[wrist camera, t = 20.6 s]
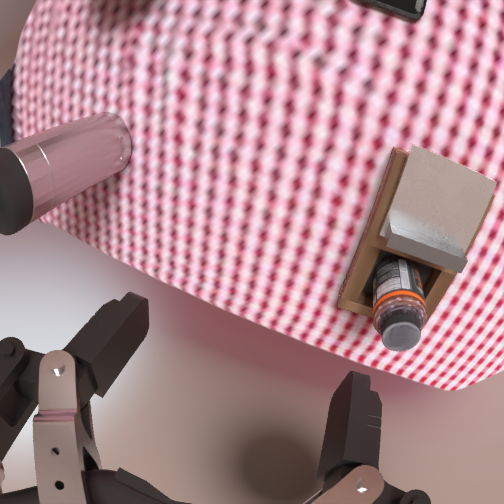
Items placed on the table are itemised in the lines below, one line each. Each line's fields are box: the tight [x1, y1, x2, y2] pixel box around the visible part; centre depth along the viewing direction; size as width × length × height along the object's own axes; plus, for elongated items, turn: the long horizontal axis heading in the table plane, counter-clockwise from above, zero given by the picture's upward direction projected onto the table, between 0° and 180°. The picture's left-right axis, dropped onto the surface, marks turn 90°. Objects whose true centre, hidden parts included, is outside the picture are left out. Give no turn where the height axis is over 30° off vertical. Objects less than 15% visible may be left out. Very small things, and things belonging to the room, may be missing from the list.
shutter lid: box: [379, 143, 497, 273], centre depth 27 cm, size 10×10×3 cm
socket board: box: [337, 147, 495, 324], centre depth 33 cm, size 12×20×3 cm, turn 170°
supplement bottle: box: [373, 256, 427, 351], centre depth 32 cm, size 6×6×11 cm
